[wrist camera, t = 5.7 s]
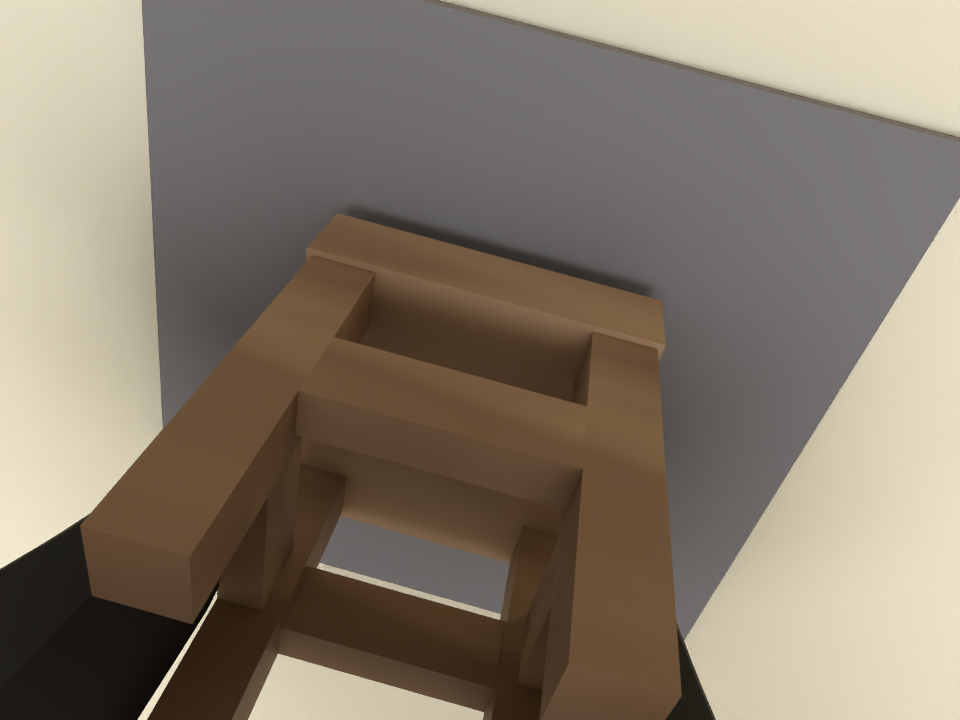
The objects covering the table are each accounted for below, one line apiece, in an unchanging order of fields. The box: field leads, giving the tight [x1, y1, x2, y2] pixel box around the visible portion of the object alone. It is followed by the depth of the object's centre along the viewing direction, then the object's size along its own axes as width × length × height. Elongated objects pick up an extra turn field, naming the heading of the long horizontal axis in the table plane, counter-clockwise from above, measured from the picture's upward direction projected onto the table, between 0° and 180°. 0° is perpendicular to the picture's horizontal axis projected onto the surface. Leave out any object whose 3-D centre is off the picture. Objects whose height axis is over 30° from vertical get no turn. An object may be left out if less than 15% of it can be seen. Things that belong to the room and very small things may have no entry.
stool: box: [80, 213, 682, 720], centre depth 11 cm, size 6×6×7 cm
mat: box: [142, 0, 960, 640], centre depth 14 cm, size 13×13×1 cm
